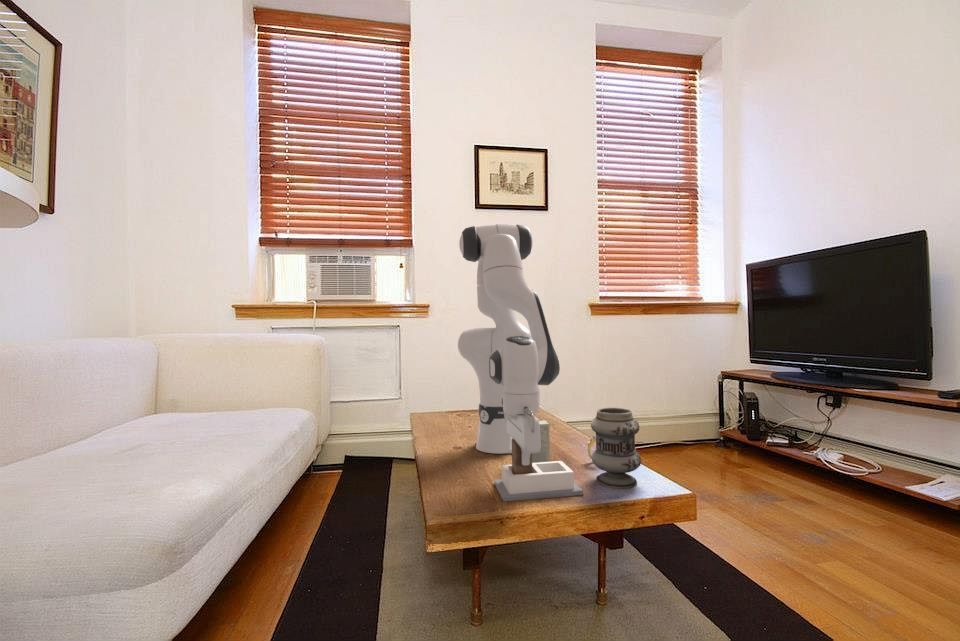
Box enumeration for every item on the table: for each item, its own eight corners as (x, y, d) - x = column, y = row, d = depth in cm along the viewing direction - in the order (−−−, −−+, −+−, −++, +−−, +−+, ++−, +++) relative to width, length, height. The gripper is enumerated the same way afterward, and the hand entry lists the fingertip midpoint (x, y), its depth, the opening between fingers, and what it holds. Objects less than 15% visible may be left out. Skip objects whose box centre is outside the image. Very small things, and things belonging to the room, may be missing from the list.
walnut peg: (527, 478, 106) (527, 438, 106) (532, 484, 102) (531, 442, 102) (512, 479, 105) (511, 438, 105) (516, 485, 101) (515, 443, 101)
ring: (588, 464, 121) (588, 436, 121) (585, 460, 125) (584, 433, 125) (612, 463, 122) (612, 435, 122) (608, 459, 125) (608, 432, 125)
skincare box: (547, 462, 124) (546, 420, 124) (550, 467, 119) (550, 423, 119) (526, 462, 124) (525, 420, 124) (528, 467, 119) (527, 424, 119)
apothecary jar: (600, 469, 117) (599, 403, 117) (647, 478, 110) (645, 408, 110) (584, 484, 107) (583, 411, 107) (634, 494, 100) (632, 417, 100)
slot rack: (503, 501, 97) (503, 479, 97) (494, 483, 108) (494, 463, 108) (583, 494, 100) (582, 473, 100) (566, 478, 111) (565, 458, 111)
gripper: (547, 411, 94) (548, 474, 94) (523, 396, 114) (523, 448, 114) (519, 413, 93) (520, 477, 93) (499, 397, 113) (500, 449, 113)
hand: (522, 460), depth 103 cm, fingers closed on walnut peg, 4 cm apart
